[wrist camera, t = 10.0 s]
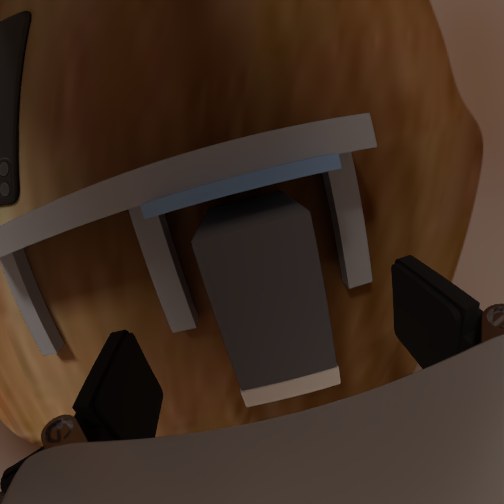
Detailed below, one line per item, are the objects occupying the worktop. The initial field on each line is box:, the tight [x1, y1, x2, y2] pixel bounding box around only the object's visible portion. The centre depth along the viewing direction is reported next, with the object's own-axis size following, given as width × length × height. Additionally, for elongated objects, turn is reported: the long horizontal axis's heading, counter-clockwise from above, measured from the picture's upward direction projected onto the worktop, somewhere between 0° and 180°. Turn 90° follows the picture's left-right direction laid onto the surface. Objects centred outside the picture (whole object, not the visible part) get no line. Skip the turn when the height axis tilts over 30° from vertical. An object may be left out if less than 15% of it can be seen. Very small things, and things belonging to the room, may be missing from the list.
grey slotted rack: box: [0, 113, 377, 356], centre depth 16 cm, size 10×24×6 cm, turn 104°
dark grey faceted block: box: [191, 191, 341, 407], centre depth 16 cm, size 8×4×8 cm, turn 14°
